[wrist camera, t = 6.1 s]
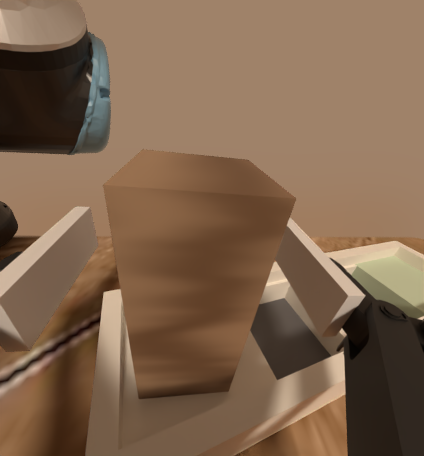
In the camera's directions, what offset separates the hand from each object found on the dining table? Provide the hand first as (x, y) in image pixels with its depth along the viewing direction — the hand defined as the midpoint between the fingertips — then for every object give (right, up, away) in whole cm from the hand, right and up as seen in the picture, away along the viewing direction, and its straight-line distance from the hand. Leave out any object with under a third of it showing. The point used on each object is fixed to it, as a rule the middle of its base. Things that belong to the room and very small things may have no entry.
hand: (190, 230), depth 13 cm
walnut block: (0, -8, 0) cm, 8 cm away
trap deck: (+11, -9, +6) cm, 16 cm away
